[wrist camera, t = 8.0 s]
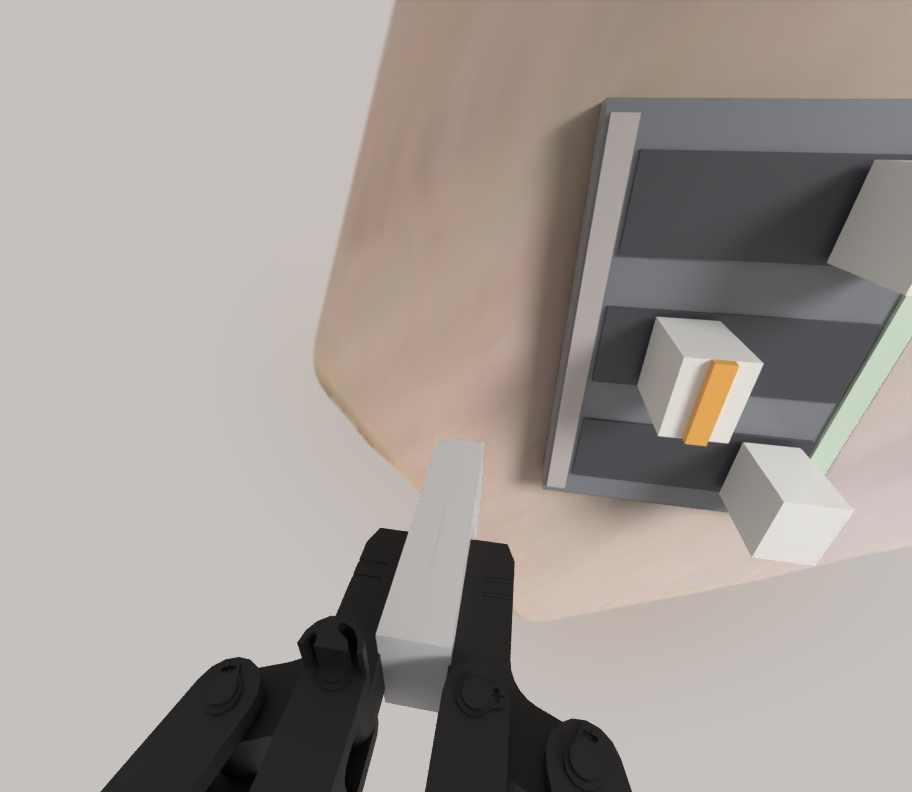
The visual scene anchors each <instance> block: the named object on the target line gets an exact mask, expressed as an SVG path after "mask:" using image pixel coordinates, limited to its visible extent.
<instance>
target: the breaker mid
mask: <svg viewBox="0 0 912 792" xmlns="http://www.w3.org/2000/svg"><path fill="white" fill-rule="evenodd" d="M763 364H764V363H763V362H762V361H761V360H760V359H759V358H758V357H757V356H756V355H755V354H754V353H752V352H751V351H750V350H749V349H748V348H747V347H746V346H745V345H744V344H743V343H742V342H741V341H740V340H739V339H738V338H737V337H736V336H735V335H734V334H733V333H732V332H731V331H730V330H729V329H728V328H727V327H726V326H725V325H724V324H723V323H722V322H721V321H712V320H698V319H683V318H669V317H656V320H655V323H654V327H653V330H652V334H651V338H650V341H649V345H648V348H647V352H646V356H645V359H644V363H643V367H642V370H641V374H640V377H639V381H638V385H637V386H638V389H639V391H640V394H641V396H642V399H643V401H644V403H645V406H646V408H647V411H648V413H649V416H650V418H651V420H652V423H653V425H654V428H655V430H656V433H657V435H658V436H662V437H671V438H681V439H683V441H684V443H685V444H690V445H699V446H707V444H708V441H709V442H719V443H729V441H730V439H731V436H732V434H733V432H734V430H735V427H736V425H737V423H738V421H739V418H740V416H741V414H742V412H743V409H744V407H745V405H746V403H747V400H748V398H749V396H750V394H751V391H752V389H753V387H754V385H755V382H756V380H757V378H758V376H759V373H760V371H761V369H762V367H763Z"/></svg>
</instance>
